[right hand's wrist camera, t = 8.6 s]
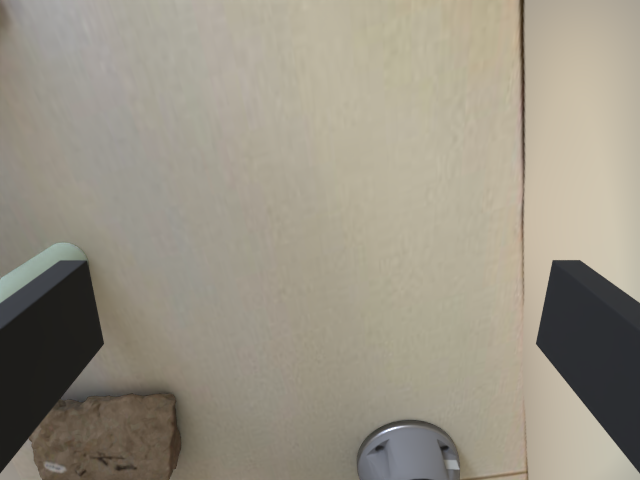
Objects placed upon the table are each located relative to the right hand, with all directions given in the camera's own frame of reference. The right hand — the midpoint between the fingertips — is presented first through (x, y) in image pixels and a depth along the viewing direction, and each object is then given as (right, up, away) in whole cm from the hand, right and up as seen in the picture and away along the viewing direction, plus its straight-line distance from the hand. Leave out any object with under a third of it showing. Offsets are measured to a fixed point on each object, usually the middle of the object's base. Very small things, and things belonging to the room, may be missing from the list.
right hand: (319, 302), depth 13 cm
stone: (-31, -25, +53) cm, 66 cm away
